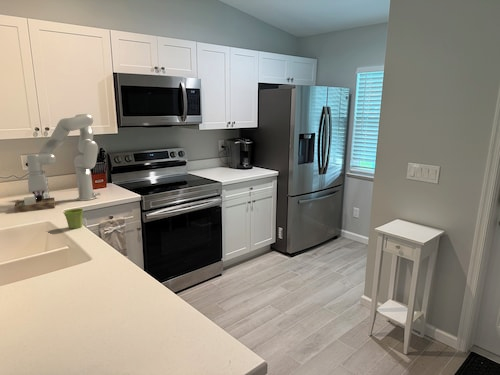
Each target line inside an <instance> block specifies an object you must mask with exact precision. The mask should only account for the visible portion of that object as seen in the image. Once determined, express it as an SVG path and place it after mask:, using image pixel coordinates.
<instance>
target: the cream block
mask: <svg viewBox="0 0 500 375" xmlns="http://www.w3.org/2000/svg"><path fill="white" fill-rule="evenodd" d="M23 201H24V203H25V205H30V204H36V198H35V196H27V197H24V198H23Z"/></svg>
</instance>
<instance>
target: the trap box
mask: <svg viewBox="0 0 500 375" xmlns="http://www.w3.org/2000/svg"><path fill="white" fill-rule="evenodd" d="M50 209H52V210H53V209H56V201H55V197H50V198H44V199H42V200H41V202H40V201H39V202H38V200H37V199H36V204H30V205H25V203H24V200H20V199H17V200H15V203H14V211H15V214H17V213H26V212H35V211H43V210H50Z"/></svg>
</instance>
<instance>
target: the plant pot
mask: <svg viewBox="0 0 500 375" xmlns="http://www.w3.org/2000/svg"><path fill="white" fill-rule="evenodd" d="M84 211H85V210H84V208H72V209H67V210H65V211H64V210H63V212H62V213H63V215H64V216H65V220H66V222H67V227H68V228H69V229H71V230H72V229H74V230H75V229H79V228H81V227H83V214H84Z"/></svg>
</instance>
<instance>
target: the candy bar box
mask: <svg viewBox="0 0 500 375" xmlns="http://www.w3.org/2000/svg"><path fill="white" fill-rule="evenodd" d="M45 178H46V183H47V189H48V191H47V192H44V193H43V194H42V199H44V198H51V197H50V191H49V190H50V189H49V182H48V177H47V176H45ZM43 191H44V190H43ZM37 193H38V195H39V194H40V191H37ZM33 195H34V194H33ZM33 197H35V198H36V195H34V196H33Z"/></svg>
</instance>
